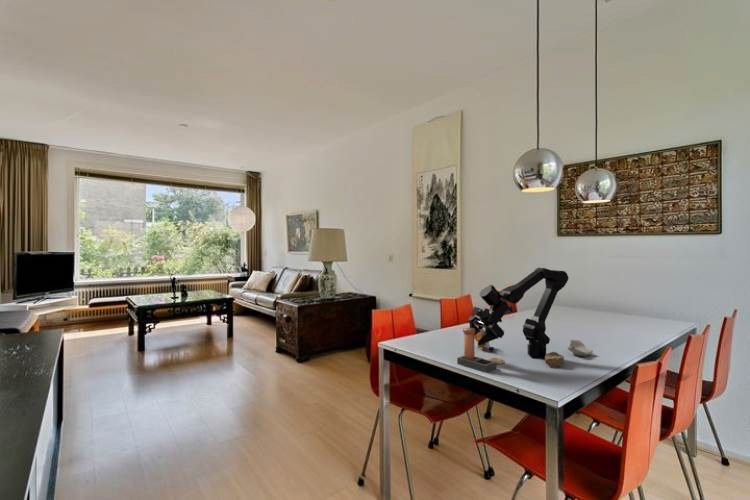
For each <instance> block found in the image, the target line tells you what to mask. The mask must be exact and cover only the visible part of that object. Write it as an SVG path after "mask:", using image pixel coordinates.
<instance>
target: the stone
mask: <svg viewBox="0 0 750 500" xmlns="http://www.w3.org/2000/svg"><path fill="white" fill-rule="evenodd" d="M544 361H545V364H546V365H547V366H548V367H550V368H558V367H562V366H563V365H564V363H565V357H564V355H562V354H560V353H559V352H558V353H557V352H555V351H551V352H548V353H546V356H545V358H544Z"/></svg>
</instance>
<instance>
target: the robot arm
mask: <svg viewBox="0 0 750 500" xmlns="http://www.w3.org/2000/svg"><path fill="white" fill-rule="evenodd" d="M543 279H544V282H545V289H544V291H543V293H542V295H541V297H540V300H539V303H538V305H537V308H536V309H535V311H534V314H533V316H532V317H530V318H525V321H524V324H523V325H522V333H523V336H525V339H526V341H528V344H527V355H529V357H531V358H532V359H545V356H546V354H547V345H549V344H550V340H551V338H550V337H549V336H548V335H547V334H546V330H547V328H546V327H547V326H546V320H547V318H548V316H549V313H550V311H551V308H552V307H553V304H554V301H555V299H556V297H557V296H558V293H559V291H561V290H562V289H563V288H564V287H565V286H566V285H567V283H568V281H569V276H568V272H567V271H565V270H557V269H556V270H554V269H548V268H546V267H537V268H535V269H534V271H532V272H531V273H530V274H528V275H527V276H526V277H524V278H523V279H521V280H520V281H519V282H517V283H515V284H511V285H509V286H507V287H505V288H503V289H502V290H501V291H499V290H497V289H496V287H495V286H494V284H488V286H486V287H484V288H482V289H481V290H480V292H479V293H478V294H479V297H480V298H481V299H482V300H483V301H484V303H486V304H487V305H488V306H491V307H490V308H489V309H488V308H486V307H483V308H481V307H477V306H473V308H472V311H471V315H469V317H468V318H467V321H468V324H469V327H468V328H474V329H475V333H474V335H476V334H477V333H479V332H480V330H481V329H484V331H485V333H484V334H483V336H482V337H481V339H480V340H479V342H477V345H479V346H480V345H482V344H484V343H487V342H489V343H490V342H491V341H494V340H496V339H497V340H498V339H502V338H503V337H504V335H505V330H503V329H502V327H501V326H500V325H499V324H498V323H502V322H503V320H502V318H503V317H504V315H506V313H511V314H512V313H514V309H513V304H514V305H515V304H517V303H519V302H520V301H521V300H522V299H523V297H524V296H525V294H526V292H528V291H529V290H530V289H531V288H533V287H534V286H535V285H537V284H538V283H540V282H541V281H542V280H543ZM508 303H509V304H508ZM510 304H512V305H510Z"/></svg>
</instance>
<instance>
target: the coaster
mask: <svg viewBox="0 0 750 500" xmlns="http://www.w3.org/2000/svg"><path fill="white" fill-rule="evenodd" d="M484 359H487V360H490V361H494V362H496V366H498V365H503V364H504V363H505V360H504V359H503V358H499V357H486V358H484Z"/></svg>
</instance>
